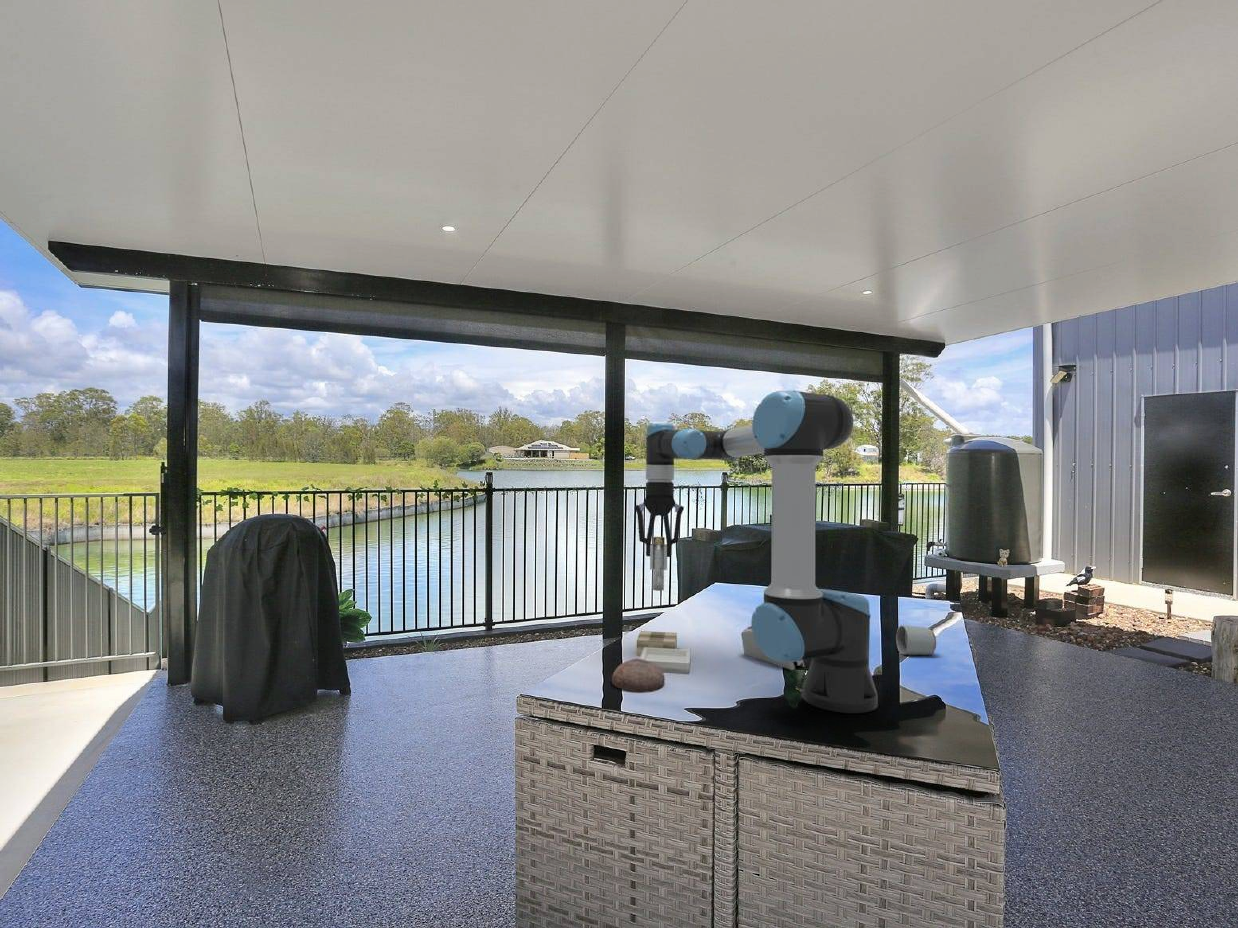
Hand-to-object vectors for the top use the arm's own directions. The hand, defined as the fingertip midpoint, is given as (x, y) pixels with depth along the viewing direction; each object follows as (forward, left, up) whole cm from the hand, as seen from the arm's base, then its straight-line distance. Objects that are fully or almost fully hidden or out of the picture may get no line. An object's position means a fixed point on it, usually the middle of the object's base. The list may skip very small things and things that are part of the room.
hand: (658, 568), depth 175 cm
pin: (0, 0, -6) cm, 6 cm away
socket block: (0, 0, -22) cm, 22 cm away
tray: (-12, -3, -22) cm, 25 cm away
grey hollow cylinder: (+12, -69, -22) cm, 73 cm away
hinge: (-3, -29, -22) cm, 37 cm away
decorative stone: (-27, +2, -23) cm, 36 cm away
